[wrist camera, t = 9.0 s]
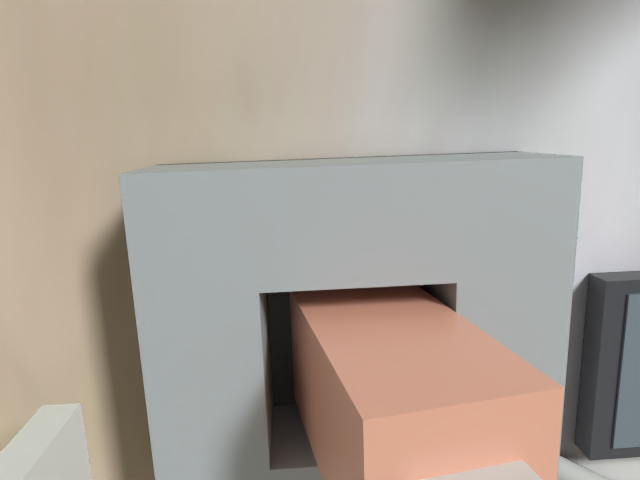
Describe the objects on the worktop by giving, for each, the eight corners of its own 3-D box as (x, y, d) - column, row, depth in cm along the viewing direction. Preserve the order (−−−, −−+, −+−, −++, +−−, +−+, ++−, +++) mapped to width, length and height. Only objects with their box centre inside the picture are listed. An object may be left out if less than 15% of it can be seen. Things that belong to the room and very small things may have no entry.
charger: (288, 287, 16) (374, 440, 8) (403, 275, 17) (587, 403, 9) (294, 397, 17) (376, 639, 9) (402, 381, 18) (570, 588, 10)
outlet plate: (159, 164, 16) (118, 174, 12) (515, 151, 17) (583, 156, 13) (191, 482, 19) (166, 573, 15) (499, 460, 19) (552, 542, 16)
